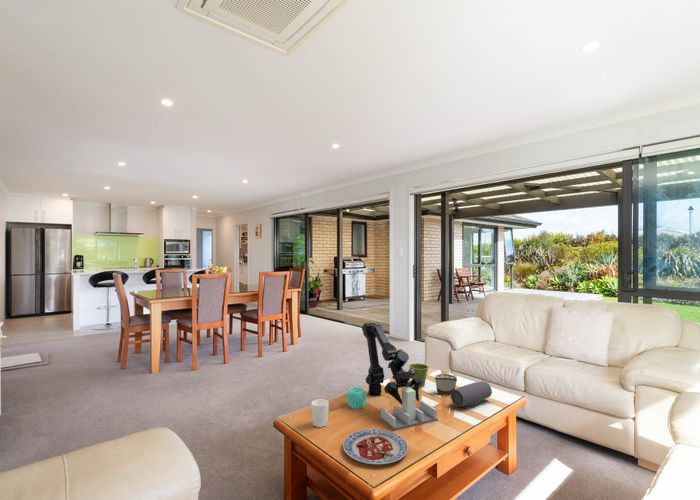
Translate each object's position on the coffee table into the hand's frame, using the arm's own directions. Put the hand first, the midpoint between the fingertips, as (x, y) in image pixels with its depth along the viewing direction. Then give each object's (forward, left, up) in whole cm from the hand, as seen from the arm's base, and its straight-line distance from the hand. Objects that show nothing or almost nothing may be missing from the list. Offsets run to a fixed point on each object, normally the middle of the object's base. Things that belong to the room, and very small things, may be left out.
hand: (410, 402), depth 168 cm
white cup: (-42, -2, -9) cm, 43 cm away
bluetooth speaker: (+36, +18, -9) cm, 42 cm away
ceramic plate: (-19, -24, -9) cm, 32 cm away
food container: (+27, +33, -9) cm, 43 cm away
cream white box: (-1, +1, -8) cm, 8 cm away
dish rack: (-1, +1, -9) cm, 9 cm away
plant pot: (+15, +46, -9) cm, 49 cm away
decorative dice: (-24, +18, -9) cm, 31 cm away
